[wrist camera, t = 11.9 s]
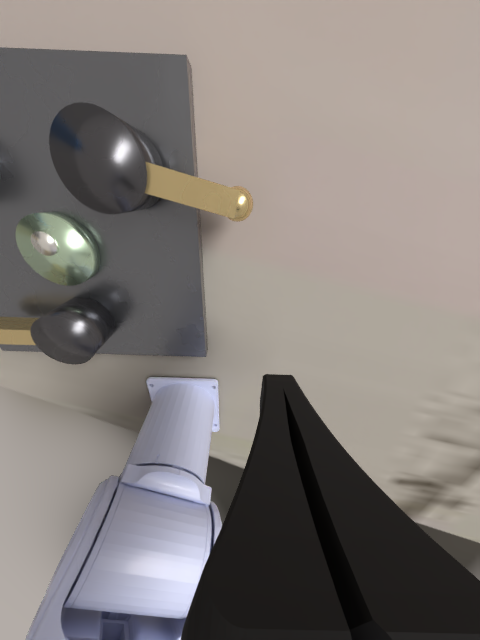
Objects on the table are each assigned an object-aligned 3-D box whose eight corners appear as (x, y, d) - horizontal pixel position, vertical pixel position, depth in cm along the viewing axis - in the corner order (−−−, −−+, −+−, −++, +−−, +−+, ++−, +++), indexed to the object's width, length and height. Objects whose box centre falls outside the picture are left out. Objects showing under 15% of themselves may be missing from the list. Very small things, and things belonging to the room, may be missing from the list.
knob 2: (94, 199, 14) (57, 201, 11) (87, 111, 12) (40, 86, 9) (242, 240, 15) (242, 251, 12) (261, 167, 13) (266, 160, 10)
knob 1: (107, 298, 18) (82, 317, 15) (120, 341, 20) (101, 365, 17) (-16, 294, 18) (-64, 313, 15) (11, 337, 20) (-26, 361, 17)
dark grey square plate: (207, 349, 22) (204, 365, 20) (13, 343, 22) (-11, 358, 20) (191, 66, 12) (180, 40, 10) (-171, 52, 12) (-258, 22, 10)
